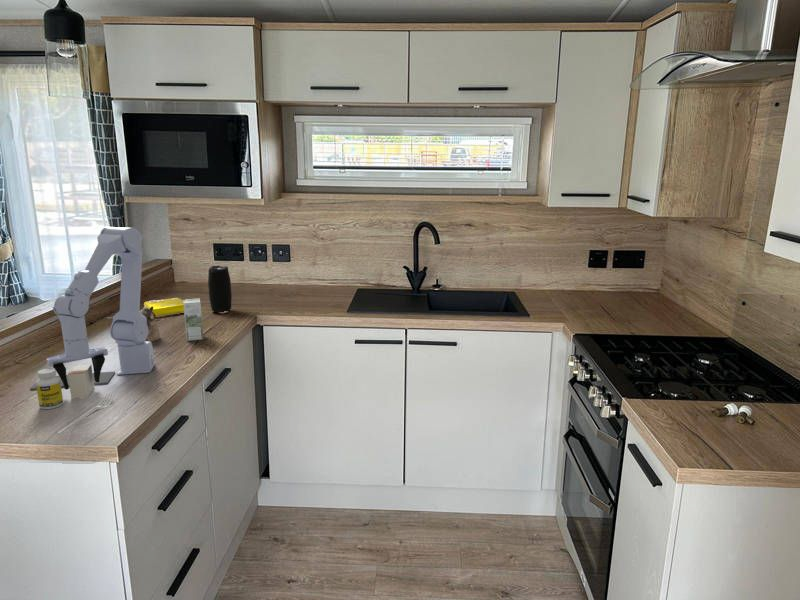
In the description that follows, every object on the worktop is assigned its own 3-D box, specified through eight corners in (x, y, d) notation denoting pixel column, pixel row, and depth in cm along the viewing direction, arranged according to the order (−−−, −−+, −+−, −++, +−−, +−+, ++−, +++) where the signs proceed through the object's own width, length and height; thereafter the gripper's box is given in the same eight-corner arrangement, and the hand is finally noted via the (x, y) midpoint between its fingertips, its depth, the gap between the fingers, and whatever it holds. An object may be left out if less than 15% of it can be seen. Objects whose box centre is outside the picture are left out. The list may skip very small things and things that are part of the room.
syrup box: (203, 335, 210) (199, 297, 206) (203, 340, 204) (200, 301, 201) (186, 337, 208) (183, 298, 204) (186, 342, 202) (183, 302, 199)
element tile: (152, 319, 233) (151, 307, 232) (143, 311, 245) (142, 300, 243) (189, 313, 241) (188, 302, 240) (179, 306, 253) (178, 296, 252)
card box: (94, 387, 162) (91, 363, 160) (87, 397, 155) (83, 372, 153) (79, 389, 161) (75, 365, 159) (71, 398, 154) (67, 373, 152)
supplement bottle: (40, 411, 146) (34, 376, 144) (38, 404, 150) (33, 369, 148) (64, 406, 149) (59, 371, 147) (62, 399, 153) (57, 365, 151)
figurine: (136, 338, 206) (132, 307, 203) (156, 335, 210) (153, 303, 207) (142, 343, 200) (138, 310, 198) (162, 339, 205) (159, 307, 202)
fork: (52, 436, 135) (50, 429, 134) (106, 400, 154) (105, 393, 153) (64, 437, 134) (62, 430, 134) (117, 401, 153) (116, 394, 153)
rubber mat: (115, 372, 173) (115, 371, 173) (107, 383, 164) (107, 382, 164) (42, 378, 168) (41, 376, 168) (30, 390, 160) (30, 388, 160)
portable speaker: (236, 310, 245) (233, 265, 241) (222, 315, 237) (219, 269, 232) (220, 308, 248) (217, 264, 244) (206, 313, 240) (202, 268, 235)
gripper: (100, 329, 162) (106, 374, 165) (41, 340, 152) (49, 387, 156) (107, 335, 157) (113, 381, 160) (47, 346, 147) (54, 394, 150)
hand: (82, 384), depth 157 cm, fingers open, 7 cm apart
